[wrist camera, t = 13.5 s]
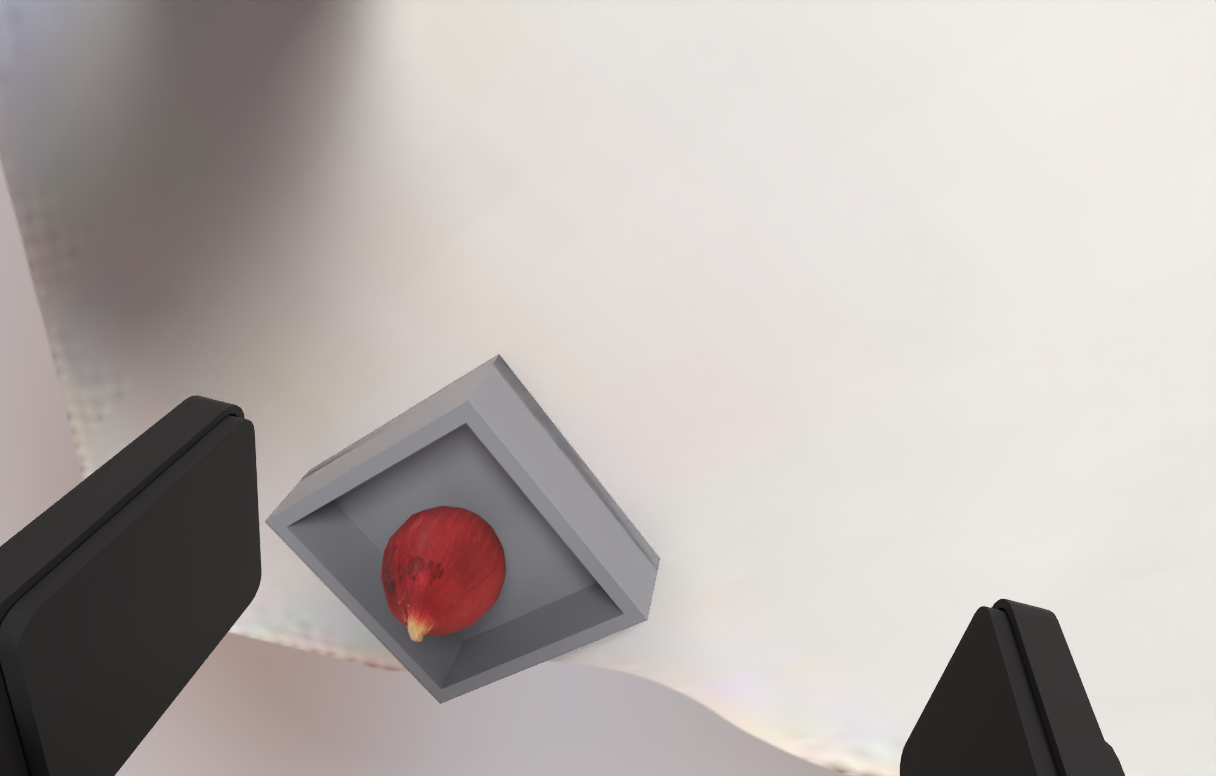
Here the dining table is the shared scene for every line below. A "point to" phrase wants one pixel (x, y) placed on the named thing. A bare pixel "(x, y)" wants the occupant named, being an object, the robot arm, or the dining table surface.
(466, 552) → the onion
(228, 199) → the dining table surface
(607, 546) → the tray
